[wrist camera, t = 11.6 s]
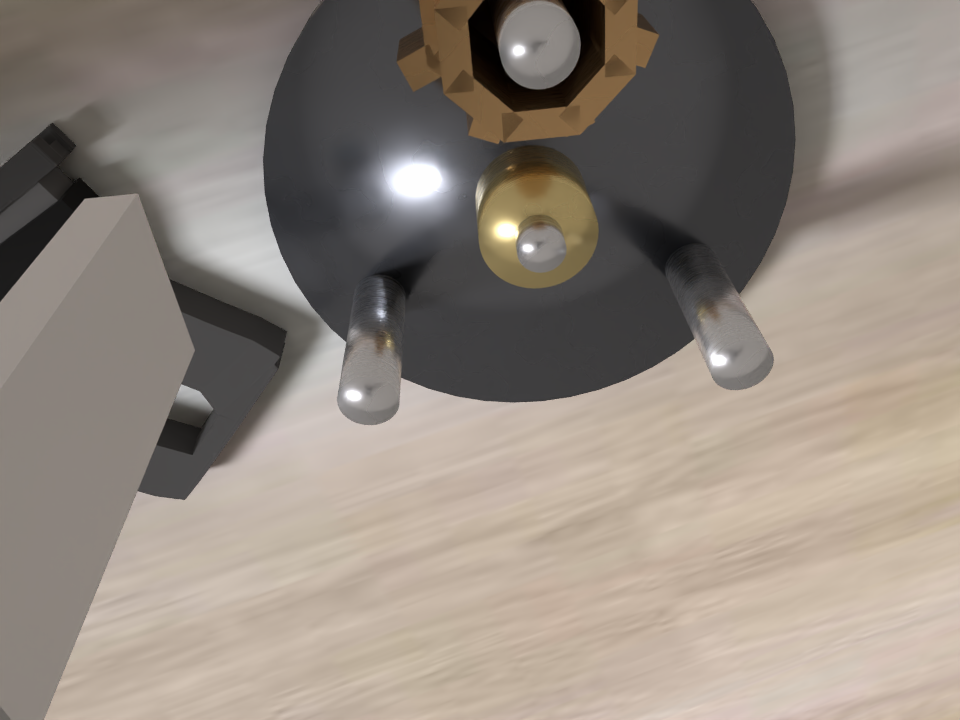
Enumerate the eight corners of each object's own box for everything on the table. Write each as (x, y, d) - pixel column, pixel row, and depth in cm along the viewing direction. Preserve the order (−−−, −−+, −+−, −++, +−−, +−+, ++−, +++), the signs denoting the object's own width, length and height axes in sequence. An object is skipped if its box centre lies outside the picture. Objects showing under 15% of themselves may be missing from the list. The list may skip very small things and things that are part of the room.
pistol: (337, 412, 34) (46, 129, 27) (-48, 632, 42) (-360, 461, 34) (342, 380, 36) (71, 106, 29) (-28, 597, 44) (-320, 427, 36)
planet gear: (411, 125, 28) (406, 200, 23) (374, -142, 23) (357, -119, 18) (639, 102, 27) (683, 172, 22) (647, -171, 23) (703, -157, 18)
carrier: (327, 400, 36) (303, 536, 30) (205, -74, 25) (124, -21, 19) (751, 359, 36) (819, 488, 29) (818, -139, 25) (953, -109, 18)
